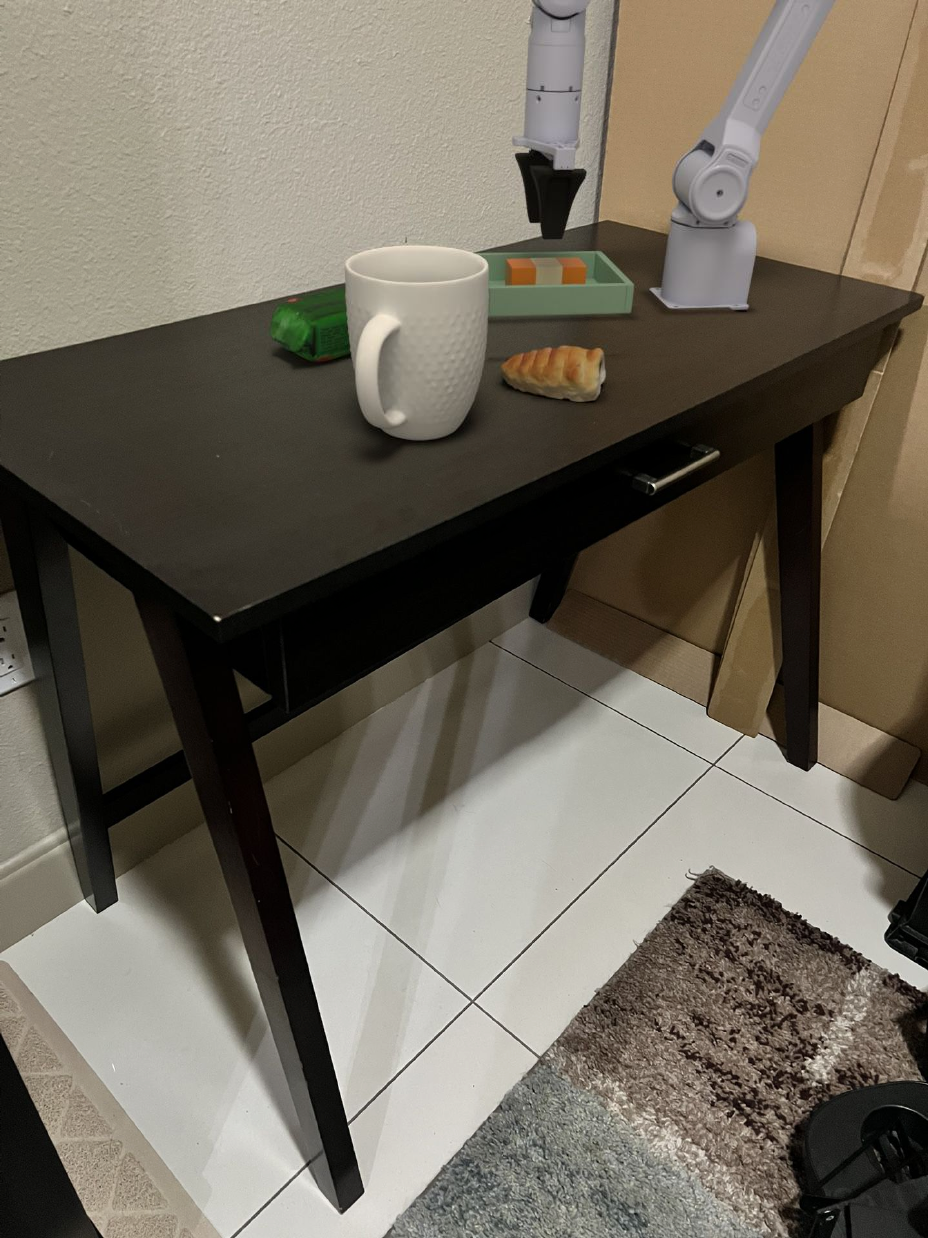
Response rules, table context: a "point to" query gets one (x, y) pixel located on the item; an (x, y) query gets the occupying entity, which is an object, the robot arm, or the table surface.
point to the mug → (417, 336)
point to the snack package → (313, 325)
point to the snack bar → (545, 271)
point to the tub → (559, 288)
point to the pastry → (558, 372)
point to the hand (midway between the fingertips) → (545, 230)
